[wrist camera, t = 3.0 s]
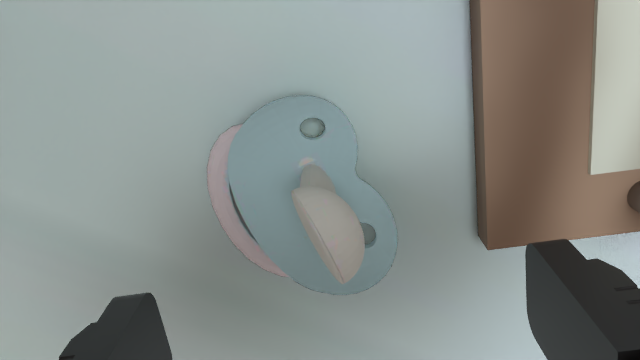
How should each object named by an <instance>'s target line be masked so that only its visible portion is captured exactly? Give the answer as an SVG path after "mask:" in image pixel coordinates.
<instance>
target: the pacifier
mask: <svg viewBox="0 0 640 360" xmlns="http://www.w3.org/2000/svg"><path fill="white" fill-rule="evenodd" d="M308 118H318V119H320V120H321V121H323V123H324V124H325V130H324V132H323V133H322V134H321V135H320V136H318V137H314V138H311V137H307V136H305V135H304V134H303V133H302V132H301V130H300V125H301V123H302V122H303V121H304V120H306V119H308ZM357 149H358V146H357V140H356V135H355V132H354V129H353V126H352V124H351V123H350V121H349V120H348V118H347V117H346V115H345V114H344V113H343V112H342V111H341V110H340V109H339V108H338V107H336V106H335V105H334V104H332V103H330V102H329V101H327V100H325V99H322V98H319V97H315V96H308V95H296V96H289V97H284V98H281V99H278V100H274V101H272V102H270V103H268V104H266V105H264V106H263V107H261V108H260V109H259V110H257V111H256V112H254V113H253V114H252V115H251V116H250V117H249V118H248V119H247V120H246V121H245V122H244V123H243V124H240V125H236V126H232V127H231V128H229V129H228V130H227V131H225V132H224V133H223V134H221V135H220V136H219V137H218V139H217V141H216V142H215V144H214V146H213V147H212V149H211V152H210V156H209V161H208V165H207V183H208V190H209V194H210V198H211V202H212V206H213V209H214V211H215V213H216V215H217V217H218V219H219V221H220V224H221V226H222V228H223V229H224V231H225V232H226V234H227V235H228V236H229V238H230V239H231V241H232V242H233V243H234V245H235V246H236V247H237V248H238V249H239V250H240V251H241V252H242V253H243V254H244V255H245V256H246V257H247V258H248V259H249V260H251V261H252V262H254V263H255V264H257V265H258V266H260V267H261V268H263V269H264V270H266V271H269V272H272V273H274V274H277V275H279V276H284V277H291V278H292V279H293V280H294V281H296V282H297V283H299V284H301V285H303V286H305V287H307V288H308V289H311V290H314V291H318V292H321V293H329V294H333V295H348V294H355V293H359V292H361V291H364V290H367V289H369V288H371V287H372V286H374V285H375V284H377V283H378V282H379V281H380V280H381V279H382V278H383V277H384V276H385V275H386V274H387V272H388V270H389V269H390V267H391V266H392V263H393V260H394V258H395V255H396V250H397V240H398V235H397V228H396V224H395V221H394V218H393V214H392V213H391V211H390V209H389V207H388V205H387V203H386V202H385V201H384V199H383V198H382V197H381V195H380V194H379V193H378V192H377V191H376V190H375V189H374V188H372V187H371V186H370V185H369V184H368V183H366V182H365V181H363V180H361V179H360V178H359V177H358V176H357V174H356V171H355V165H356V162H357ZM360 223H367V224H369V225H371V226H372V227H373V228H374V230H375V231H376V236H375V239H374V240H373V241H372V242H371V243H370V244H365V241H364V234H363V230H362V227H361V224H360Z"/></svg>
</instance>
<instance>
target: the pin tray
mask: <svg viewBox="0 0 640 360" xmlns="http://www.w3.org/2000/svg"><path fill="white" fill-rule="evenodd" d="M470 22H471V49H472V77H473V105H474V133H475V160H476V188H477V216H478V236H479V237H480V239H481V241H482V242H483V244H484V245H485V247H486V248H487V250H493V249H501V248H509V247H517V246H525V245H528V244H529V243H535V242H543V241H551V240H558V239H567V240H573V239H581V238H589V237H597V236H605V235H613V234H621V233H630V232H638V231H640V0H470Z"/></svg>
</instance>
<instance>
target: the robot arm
mask: <svg viewBox="0 0 640 360" xmlns="http://www.w3.org/2000/svg"><path fill="white" fill-rule="evenodd" d="M525 257H526V297H527V314H528V319H529V324H530V327H531V330H532V333H533V335H534V337H535V339H536V341H537V343H538V344H539V346H540V348H541V349H542V351H543V353H544V355H545V356H546V358H547V360H640V289H638V288H637V285H636V284H635V283H634V282H633V281H632V280H631V279H630V278H629V277H628V276H627V275H626V274H625V273H624V272H623V271H622V270H620V269H618V268H616V267H614V266H612V265H610V264H608V263H606V262H603V261H601V260H599V259H591V260H586V259H585V257H584V256H583V255H582V254H581V253H580V252H579V251H578V250H577V249H576V248H575V247H574V246H573V245H572V244H571V243H570V242H569V241H568V240H567V239H558V240H551V241H543V242H535V243H529V244H528V245H527V247H526V255H525ZM59 360H172V354H171V350H170V346H169V343H168V340H167V336H166V333H165V330H164V326H163V323H162V320H161V316H160V313H159V310H158V306H157V303H156V300H155V298H154V296H153V295H152V294H151V293H142V294H134V295H127V296H119V297H115V298H113V299H112V300H111V302H110V303H109V305H108V306H107V308H106V309H105V311H104V312H103V314H102V315H101V317H100V318H99V320H98V321H97V322H96V323H91V324H90V325H88V326H87V327H86V328H85V329H84V330H82V331H81V332H80V333H79V334H77V335H76V336H75V337H74V338H73V339H71V341H70V342H69V344H68V345H67V346H66V348H65V349H64V351H63V352H62V354H61V355H60V356H59Z"/></svg>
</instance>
